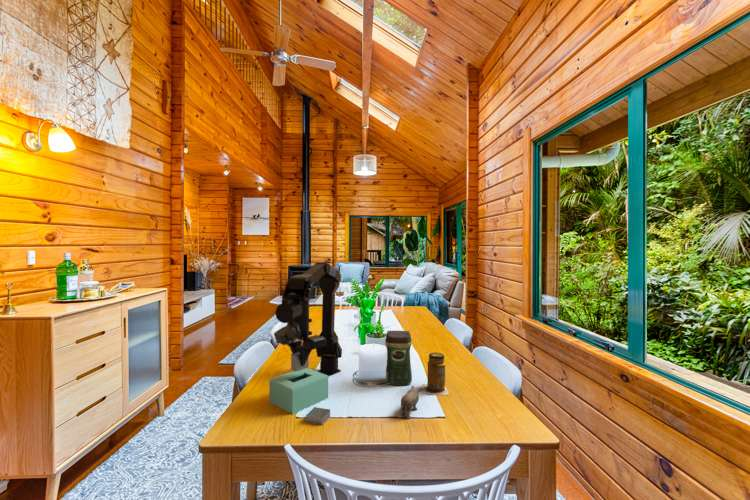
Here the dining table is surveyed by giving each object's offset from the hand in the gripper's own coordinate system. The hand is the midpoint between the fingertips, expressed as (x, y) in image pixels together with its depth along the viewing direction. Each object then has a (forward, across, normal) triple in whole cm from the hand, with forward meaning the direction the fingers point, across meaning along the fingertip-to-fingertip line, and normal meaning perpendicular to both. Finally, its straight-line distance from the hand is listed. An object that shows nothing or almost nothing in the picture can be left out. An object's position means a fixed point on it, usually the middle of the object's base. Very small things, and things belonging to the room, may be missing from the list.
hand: (300, 364), depth 113 cm
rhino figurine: (+12, +30, +19) cm, 38 cm away
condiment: (+12, +29, +36) cm, 47 cm away
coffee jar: (+12, +15, +33) cm, 38 cm away
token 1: (+1, 0, 0) cm, 1 cm away
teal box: (+12, 0, 0) cm, 12 cm away
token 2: (+12, +14, -4) cm, 19 cm away
